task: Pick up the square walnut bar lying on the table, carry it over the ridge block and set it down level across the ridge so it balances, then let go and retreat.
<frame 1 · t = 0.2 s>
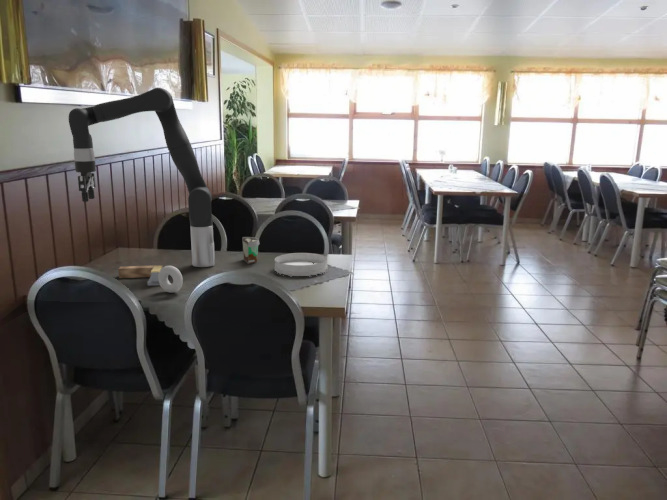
hand: (88, 200, 224), 29 cm above the table, tool pointing down, fingers open, 8 cm apart
dish: (301, 270, 230), on the table
food container: (252, 261, 244), on the table
donut: (171, 293, 198), on the table
walnut bar: (141, 276, 219), on the table
ridge block: (157, 282, 211), on the table
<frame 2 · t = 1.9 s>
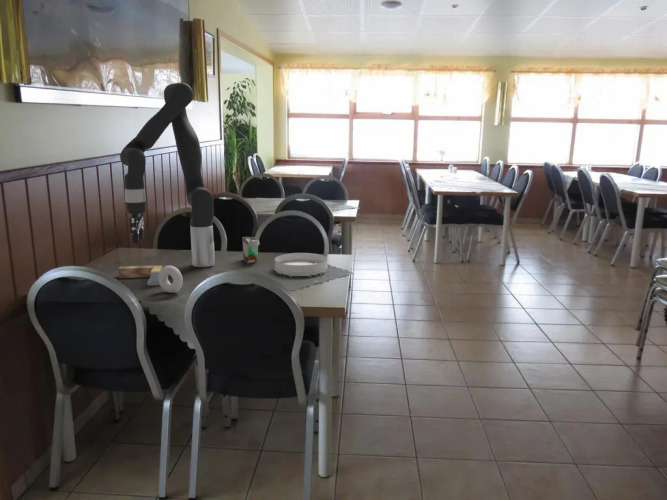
hand: (138, 241, 216), 14 cm above the table, tool pointing down, fingers open, 8 cm apart
nothing on the table moved.
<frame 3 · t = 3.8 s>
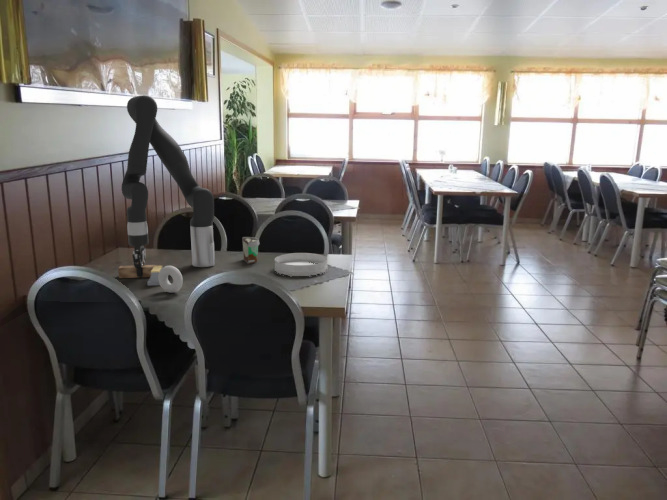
hand: (141, 274, 219), 0 cm above the table, tool pointing down, fingers closed on walnut bar, 3 cm apart
walnut bar: (141, 276, 219), on the table, touching gripper
everything else where it was.
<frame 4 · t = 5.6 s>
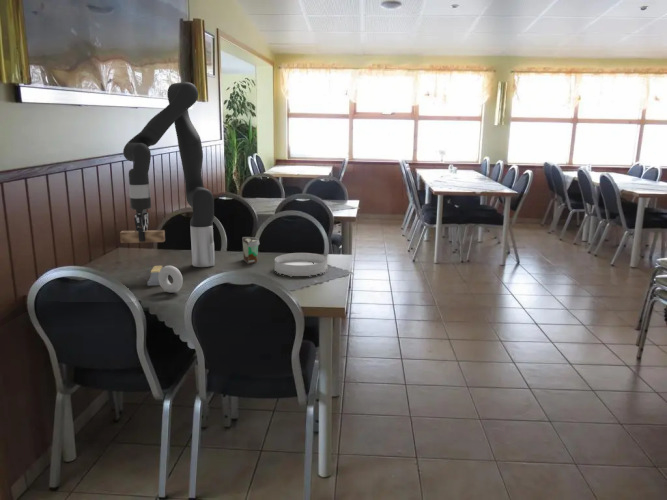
hand: (143, 240, 213), 15 cm above the table, tool pointing down, fingers closed on walnut bar, 3 cm apart
walnut bar: (143, 241, 213), point 15 cm above the table, touching gripper
everything else where it was.
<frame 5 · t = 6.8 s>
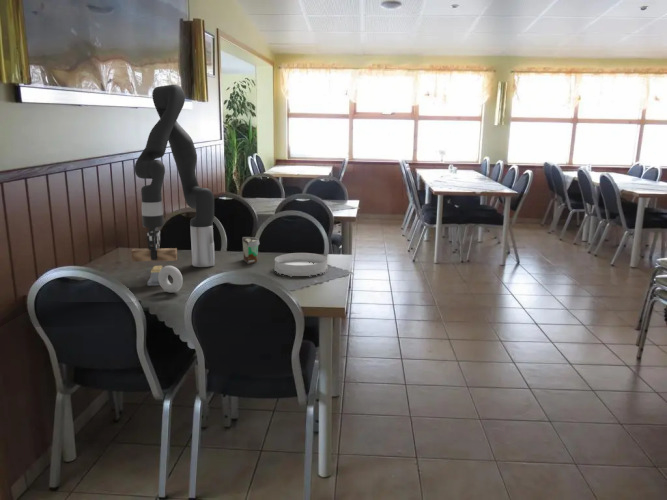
hand: (155, 258, 209), 9 cm above the table, tool pointing down, fingers closed on walnut bar, 3 cm apart
walnut bar: (155, 259, 209), point 9 cm above the table, touching gripper
everything else where it was.
when the fingers open (7 cm above the table, at t = 7.6 s): walnut bar stays where it is, resting on ridge block.
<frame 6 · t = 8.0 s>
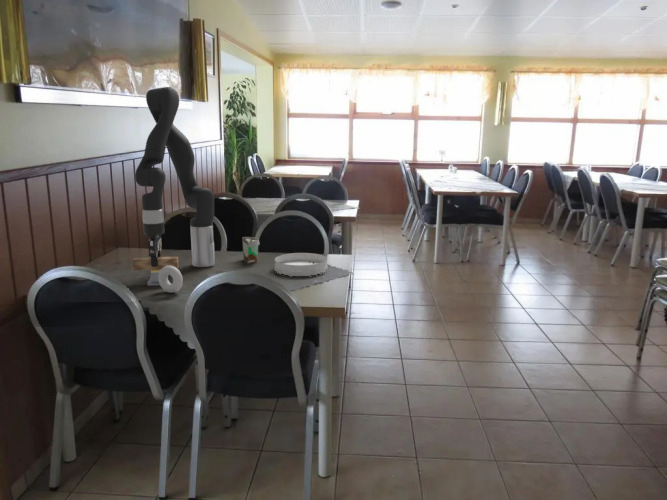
hand: (156, 263, 209), 7 cm above the table, tool pointing down, fingers open, 7 cm apart
walnut bar: (156, 268, 210), point 5 cm above the table, touching ridge block
everything else where it was.
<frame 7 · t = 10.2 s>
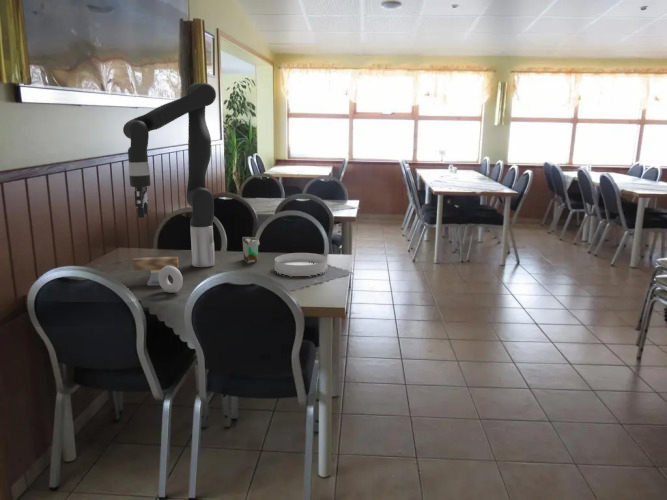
hand: (143, 215, 215), 24 cm above the table, tool pointing down, fingers open, 8 cm apart
nothing on the table moved.
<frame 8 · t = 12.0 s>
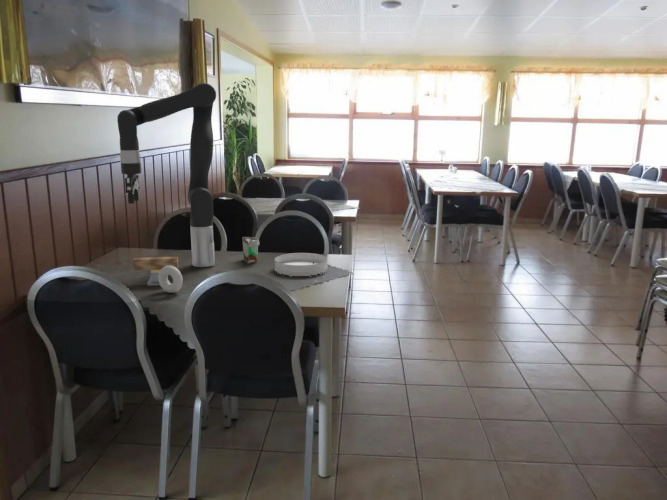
hand: (133, 202, 223), 28 cm above the table, tool pointing down, fingers open, 8 cm apart
nothing on the table moved.
at the end: walnut bar 0.1 cm off-centre on the ridge block, point 5.5 cm above the ridge block's base; walnut bar tilted 0°; walnut bar touching ridge block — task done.
